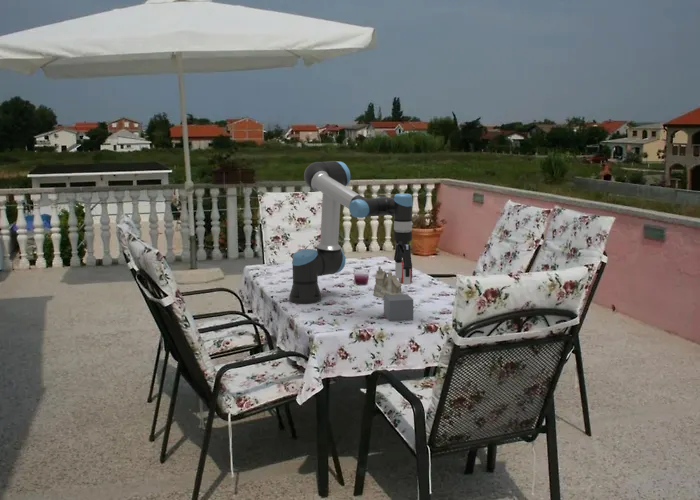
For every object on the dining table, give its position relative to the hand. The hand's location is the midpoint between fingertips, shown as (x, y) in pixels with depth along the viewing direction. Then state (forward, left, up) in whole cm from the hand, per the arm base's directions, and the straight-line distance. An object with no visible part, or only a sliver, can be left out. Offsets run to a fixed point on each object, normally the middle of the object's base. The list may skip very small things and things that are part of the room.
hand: (402, 281), depth 280 cm
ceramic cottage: (+4, +41, -16) cm, 44 cm away
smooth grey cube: (-2, 0, -16) cm, 16 cm away
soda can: (+19, +66, -16) cm, 70 cm away
